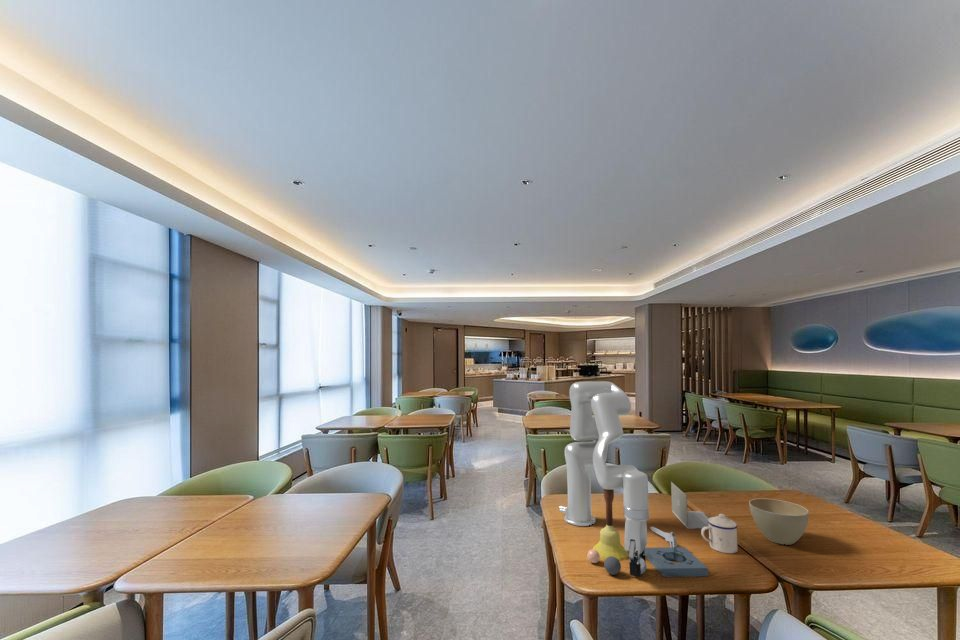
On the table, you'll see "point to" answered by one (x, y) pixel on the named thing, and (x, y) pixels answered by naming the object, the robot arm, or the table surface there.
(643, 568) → the steel ball
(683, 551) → the housing plate
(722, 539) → the teacup with lid
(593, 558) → the pink ball
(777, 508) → the grey beige bowl
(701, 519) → the laptop
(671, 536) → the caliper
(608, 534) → the handbell
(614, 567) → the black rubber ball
